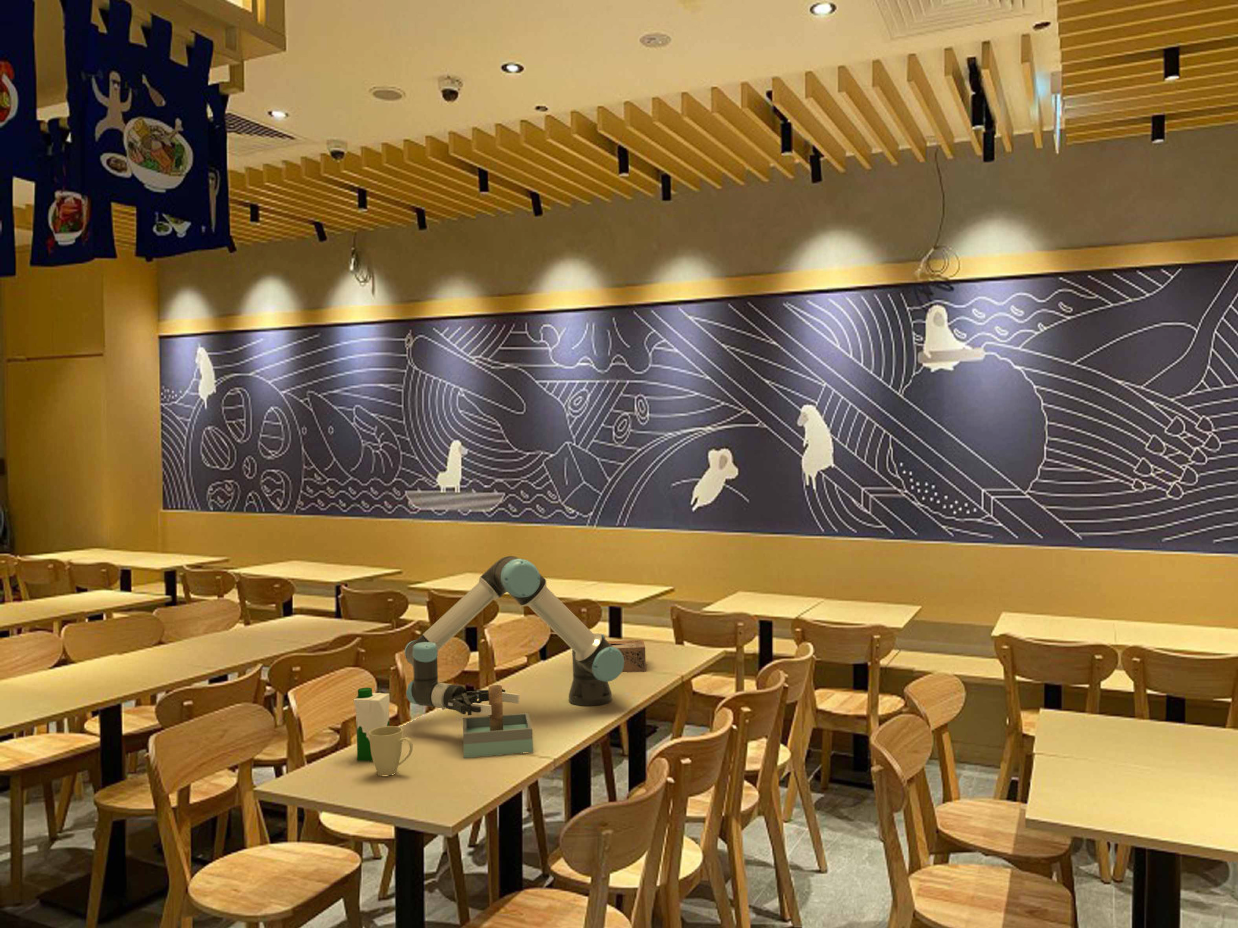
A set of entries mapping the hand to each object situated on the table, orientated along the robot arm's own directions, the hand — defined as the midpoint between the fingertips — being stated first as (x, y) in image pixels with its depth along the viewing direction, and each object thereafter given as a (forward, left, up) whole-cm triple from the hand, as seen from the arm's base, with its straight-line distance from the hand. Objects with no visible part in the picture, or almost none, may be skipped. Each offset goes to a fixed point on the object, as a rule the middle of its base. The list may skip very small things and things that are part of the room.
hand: (504, 704), depth 286 cm
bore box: (+3, -2, -13) cm, 13 cm away
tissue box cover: (-46, -91, -13) cm, 103 cm away
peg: (+3, -2, -13) cm, 13 cm away
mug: (+33, +15, -13) cm, 38 cm away
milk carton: (+39, -1, -13) cm, 41 cm away
